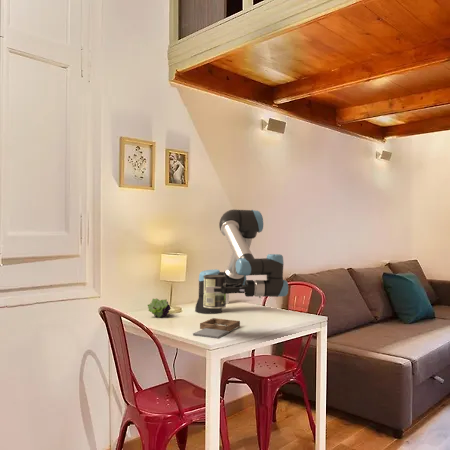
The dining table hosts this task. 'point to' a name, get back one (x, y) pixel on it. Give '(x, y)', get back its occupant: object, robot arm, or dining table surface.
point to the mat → (211, 333)
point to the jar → (227, 298)
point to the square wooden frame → (210, 325)
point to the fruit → (159, 307)
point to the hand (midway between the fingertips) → (205, 288)
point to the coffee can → (214, 298)
